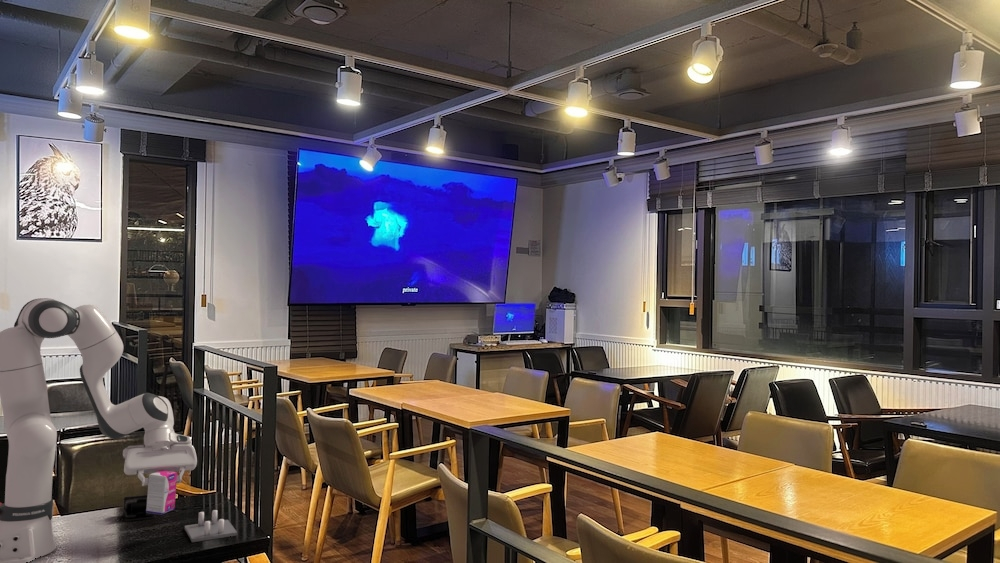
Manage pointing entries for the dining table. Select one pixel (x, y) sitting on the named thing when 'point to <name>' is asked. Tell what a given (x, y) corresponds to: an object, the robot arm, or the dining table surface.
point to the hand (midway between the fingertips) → (162, 483)
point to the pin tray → (210, 528)
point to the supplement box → (161, 492)
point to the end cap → (136, 508)
